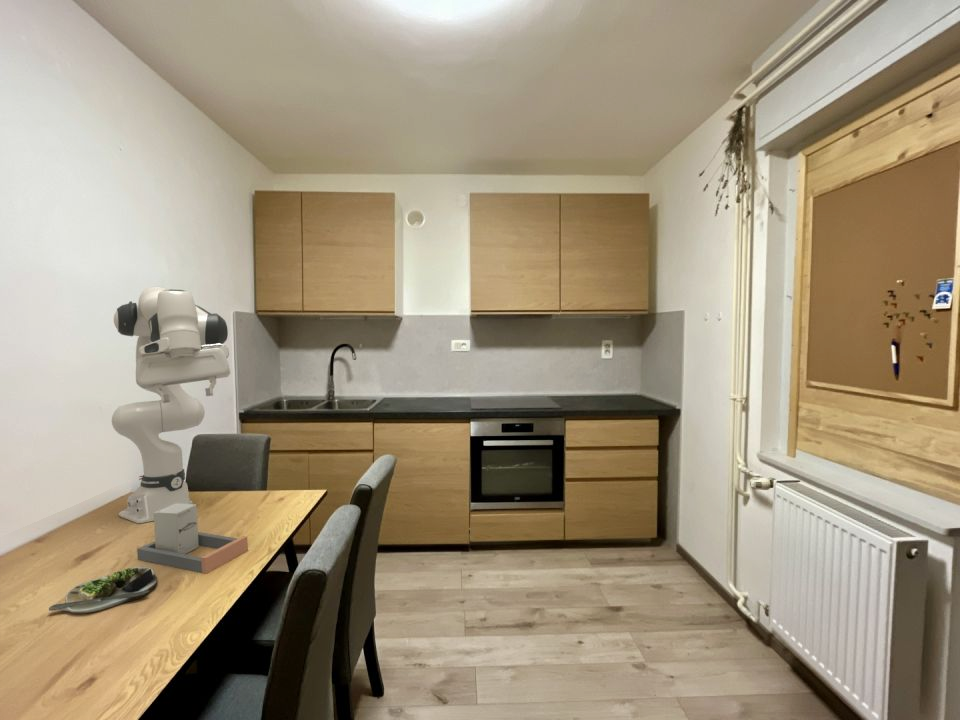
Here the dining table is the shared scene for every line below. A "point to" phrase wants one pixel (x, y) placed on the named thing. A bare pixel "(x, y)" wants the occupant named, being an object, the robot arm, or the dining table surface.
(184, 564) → the bay
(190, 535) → the supplement box
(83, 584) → the salad plate
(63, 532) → the dining table surface
